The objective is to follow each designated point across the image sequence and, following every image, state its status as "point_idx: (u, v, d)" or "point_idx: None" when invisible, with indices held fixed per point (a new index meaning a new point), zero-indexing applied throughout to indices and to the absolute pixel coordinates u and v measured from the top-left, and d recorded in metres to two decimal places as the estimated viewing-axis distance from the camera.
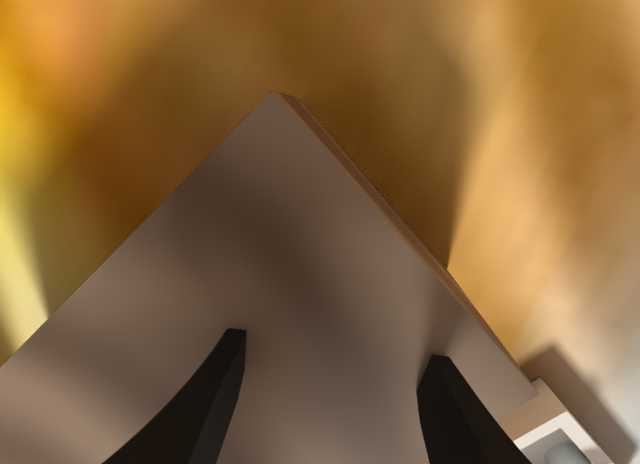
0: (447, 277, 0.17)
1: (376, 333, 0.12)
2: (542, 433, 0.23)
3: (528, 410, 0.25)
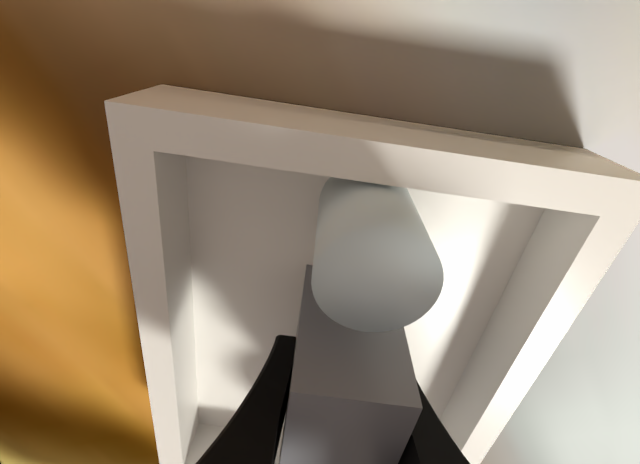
0: None
1: None
2: (144, 193, 0.09)
3: None
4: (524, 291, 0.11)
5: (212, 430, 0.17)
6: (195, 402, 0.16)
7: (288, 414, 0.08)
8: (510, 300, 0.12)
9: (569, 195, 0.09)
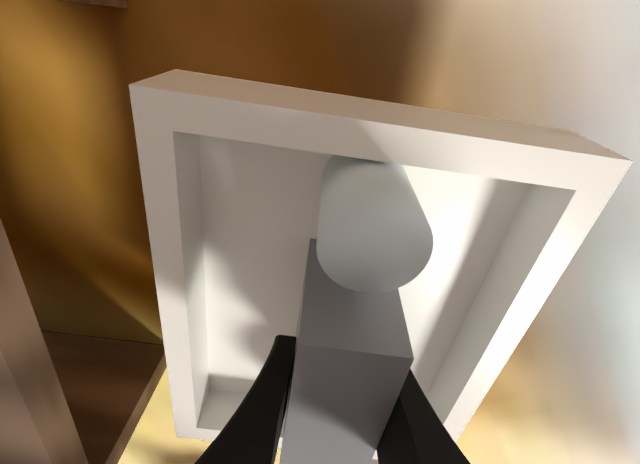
0: None
1: None
2: (164, 170, 0.10)
3: None
4: (510, 262, 0.12)
5: (222, 395, 0.18)
6: (206, 368, 0.17)
7: (296, 365, 0.09)
8: (497, 271, 0.13)
9: (548, 171, 0.09)
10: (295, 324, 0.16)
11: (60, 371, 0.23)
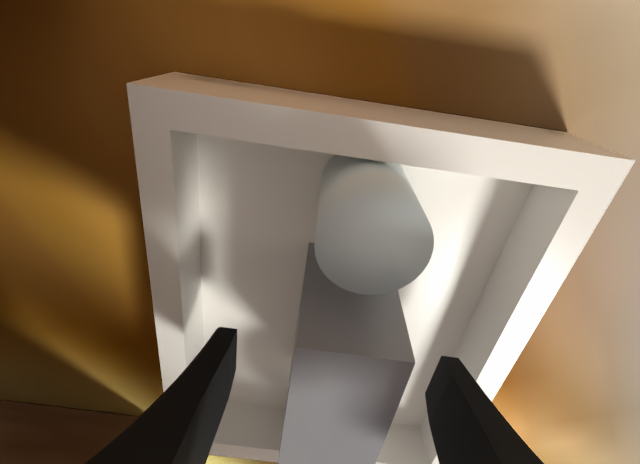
0: None
1: None
2: (160, 170, 0.10)
3: None
4: (512, 266, 0.12)
5: None
6: None
7: (293, 369, 0.09)
8: (500, 276, 0.13)
9: (550, 171, 0.09)
10: (293, 332, 0.15)
11: (6, 462, 0.17)
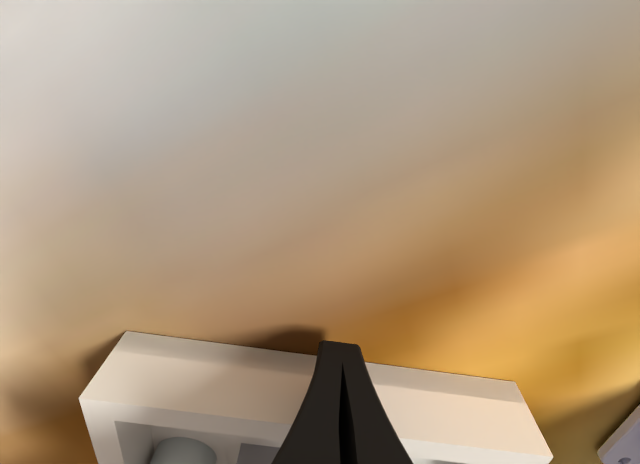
0: None
1: None
2: None
3: None
4: None
5: None
6: None
7: None
8: None
9: (106, 436, 0.13)
10: None
11: None
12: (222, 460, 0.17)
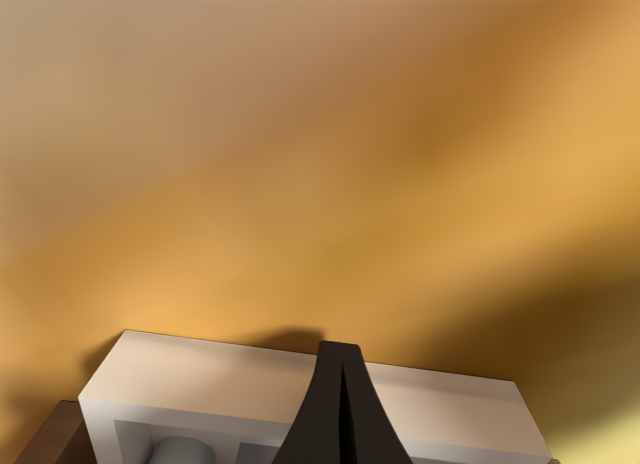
0: None
1: None
2: None
3: None
4: None
5: None
6: None
7: None
8: None
9: (105, 435, 0.12)
10: None
11: None
12: (221, 459, 0.17)
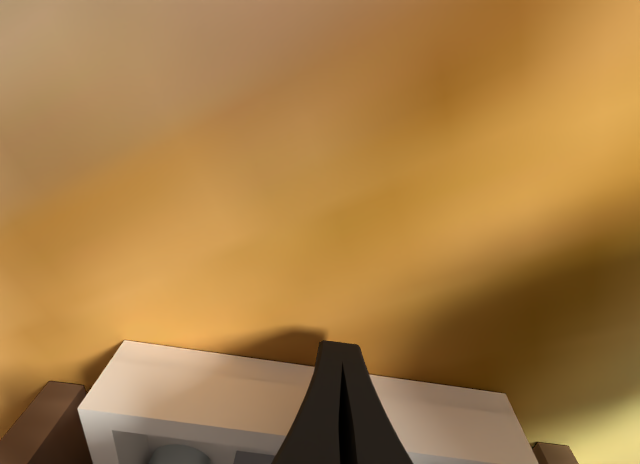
0: None
1: None
2: None
3: None
4: None
5: None
6: None
7: None
8: None
9: (103, 445, 0.13)
10: None
11: None
12: None
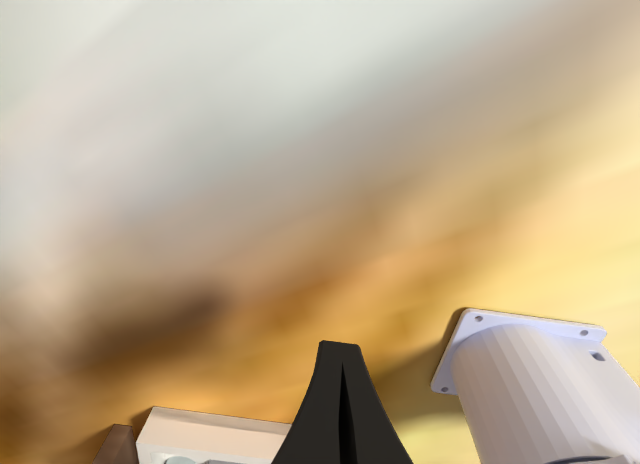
0: None
1: None
2: None
3: None
4: None
5: None
6: None
7: None
8: None
9: (145, 458, 0.28)
10: None
11: None
12: None
